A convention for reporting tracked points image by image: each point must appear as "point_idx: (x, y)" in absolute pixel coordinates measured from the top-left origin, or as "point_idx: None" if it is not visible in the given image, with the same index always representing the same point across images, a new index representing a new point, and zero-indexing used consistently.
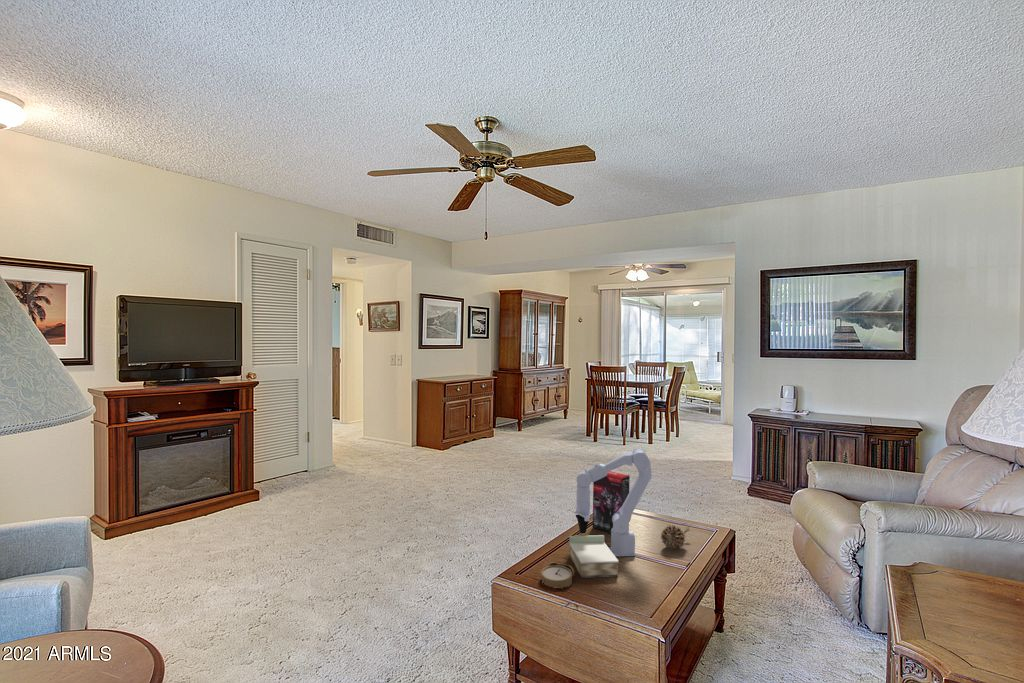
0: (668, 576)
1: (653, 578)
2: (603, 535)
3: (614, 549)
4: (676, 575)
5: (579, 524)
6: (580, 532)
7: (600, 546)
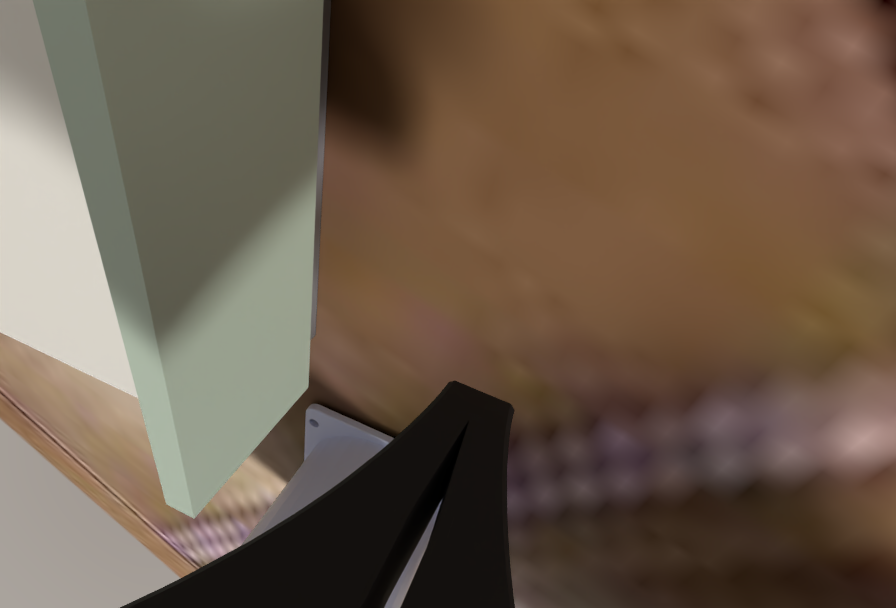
0: (79, 436)
1: (39, 368)
2: (182, 508)
3: (321, 462)
4: (97, 467)
5: (325, 516)
6: (451, 389)
7: (109, 332)
